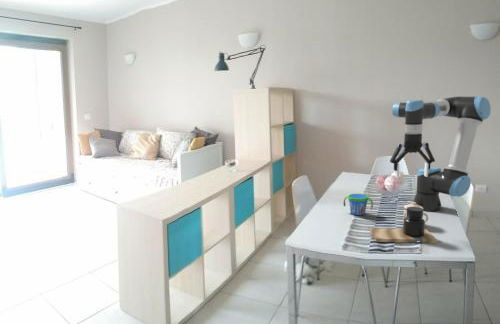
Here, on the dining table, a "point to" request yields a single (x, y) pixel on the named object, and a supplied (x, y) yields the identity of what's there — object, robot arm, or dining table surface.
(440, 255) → the dining table surface
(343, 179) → the dining table surface
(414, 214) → the ink bottle
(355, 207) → the snack cup
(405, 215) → the teacup with lid
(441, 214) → the dining table surface
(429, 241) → the plywood board
